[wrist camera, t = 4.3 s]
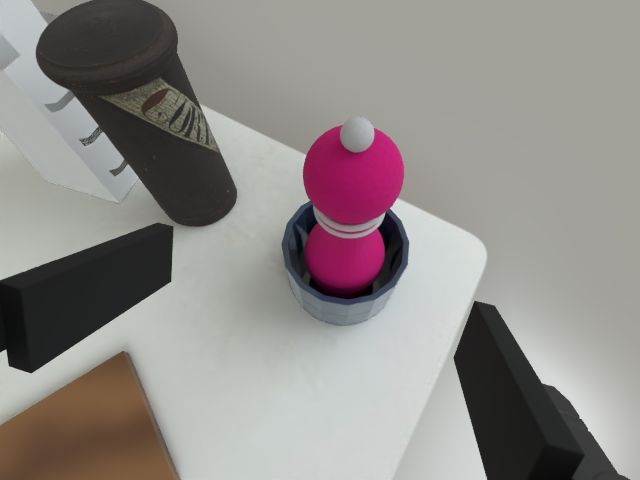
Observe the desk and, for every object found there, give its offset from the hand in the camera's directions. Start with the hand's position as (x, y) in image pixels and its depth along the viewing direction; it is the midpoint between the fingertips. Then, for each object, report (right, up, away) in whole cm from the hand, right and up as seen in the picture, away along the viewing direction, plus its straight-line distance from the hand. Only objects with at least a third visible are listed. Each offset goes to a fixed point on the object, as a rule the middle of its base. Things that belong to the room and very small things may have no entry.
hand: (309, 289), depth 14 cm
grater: (-26, +12, +28) cm, 40 cm away
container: (-13, +7, +25) cm, 29 cm away
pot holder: (-19, -16, +14) cm, 28 cm away
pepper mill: (+3, -1, +20) cm, 21 cm away
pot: (+3, -1, +20) cm, 21 cm away
